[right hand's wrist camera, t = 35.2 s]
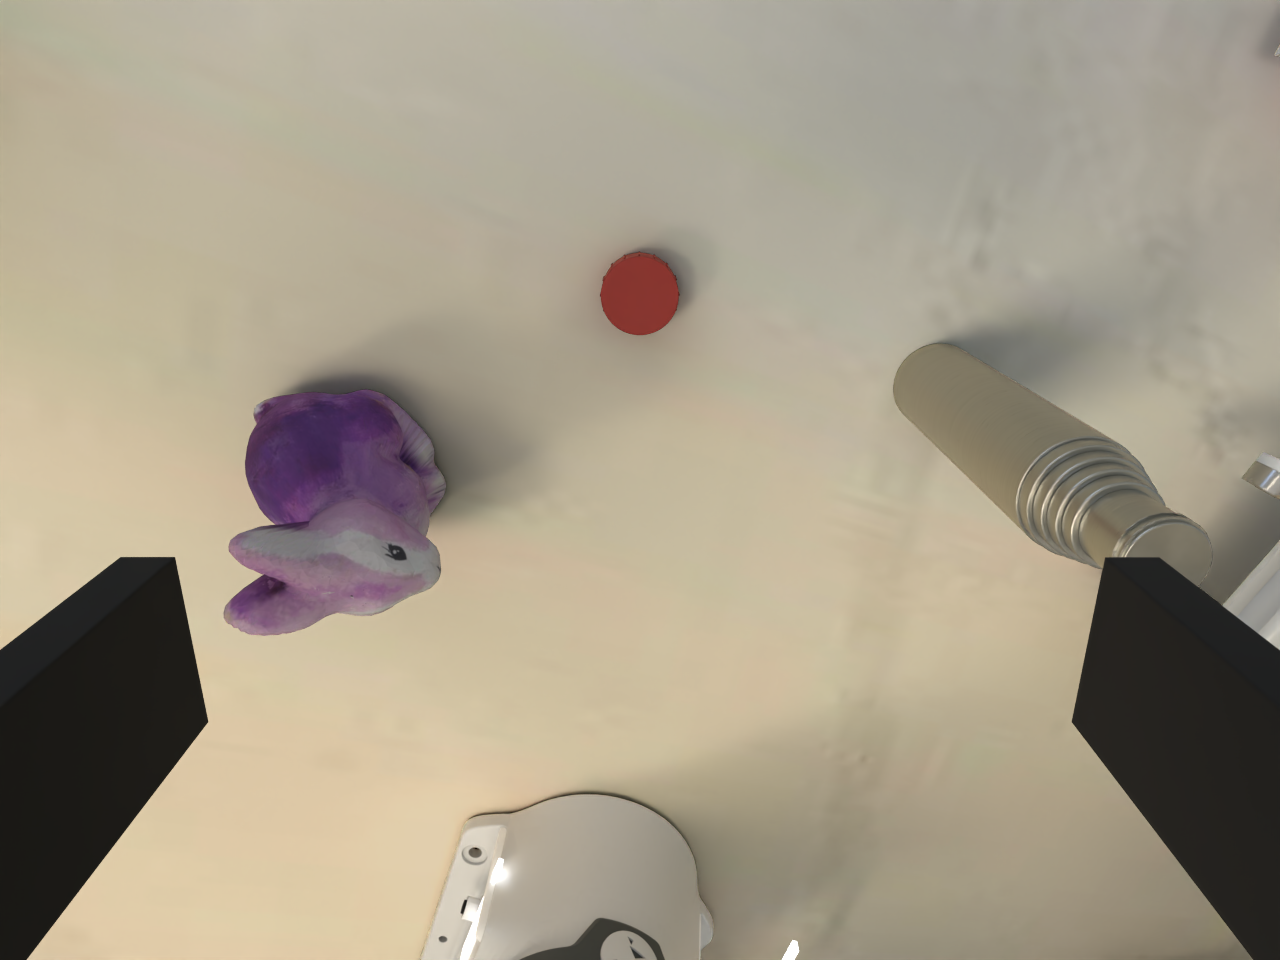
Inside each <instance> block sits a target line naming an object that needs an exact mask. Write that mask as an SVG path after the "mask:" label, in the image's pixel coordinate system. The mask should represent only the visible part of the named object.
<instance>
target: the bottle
mask: <svg viewBox="0 0 1280 960" xmlns="http://www.w3.org/2000/svg"><path fill="white" fill-rule="evenodd" d="M893 392H894V398H895V402H896V404H897V406H898V408H899V410H900V411H901V412H902V413H903V414H904V415H905V416H906V417H907V418H908V419H909V420H910V421H911V422H912V423H913V424H914V425H915V426H916V427H917V428H918V429H919V430H920V431H921V432H922V433H923V434H924V435H925V436H926V437H927V438H928V439H929V440H930V441H931V442H932V443H933V444H934V445H935V446H936V447H937V448H938V449H939V450H940V451H941V452H942V453H943V454H944V455H945V456H947V457H948V458H949V459H950V460H951V461H952V462H953V463H954V464H955V465H956V466H957V467H958V468H959V469H960V470H961V471H962V472H963V473H964V474H965V475H966V476H967V477H968V478H969V479H970V480H971V481H972V482H973V483H974V484H975V485H976V486H977V487H978V488H979V489H980V490H981V491H982V492H983V493H984V494H985V495H986V496H987V497H988V498H989V499H991V500H992V501H993V502H994V503H995V504H996V505H997V506H998V507H999V508H1000V509H1001V510H1002V511H1003V512H1004V513H1005V514H1006V515H1007V516H1008V517H1009V518H1010V519H1011V520H1012V521H1013V522H1014V523H1015V524H1016V525H1017V526H1018V527H1019V528H1020V529H1021V530H1022V531H1023V532H1024V533H1025V534H1026V535H1027V536H1028V537H1030V538H1031V539H1032V540H1033V541H1034V542H1036V543H1037V544H1039V545H1041V546H1043V547H1044V548H1046V549H1047V550H1049V551H1051V552H1053V553H1055V554H1057V555H1061V556H1064V557H1067V558H1069V559H1073V560H1076V561H1078V562H1081V563H1084V564H1088V565H1090V566H1092V567H1095V568H1099V569H1103V565H1104V560H1105V557H1160V558H1161V559H1162V560H1164V561H1165V562H1166V563H1167V564H1169V565H1170V566H1171V567H1173V568H1174V569H1175V570H1177V571H1178V572H1179V573H1180V574H1182V575H1183V576H1184V577H1186V578H1187V579H1188V580H1190V581H1191V582H1192V583H1193V584H1195V585H1196V586H1197V587H1198V586H1199V585H1200V584H1201V582H1202V581H1203V580H1204V579H1205V577H1206V575H1207V574H1208V571H1209V569H1210V566H1211V563H1212V547H1211V543H1210V541H1209V538H1208V536H1207V533H1206V532H1205V531H1204V530H1203V529H1202V527H1201V526H1200V525H1198V524H1197V523H1195V522H1193V521H1192V520H1191V519H1189V518H1187V517H1186V516H1184V515H1182V514H1179V513H1175V512H1173V511H1172V510H1170V509H1169V508H1167V507H1166V506H1165V503H1164V501H1163V499H1162V497H1161V496H1160V495H1159V494H1158V491H1157V489H1156V488H1155V486H1154V485H1153V483H1152V482H1151V480H1150V478H1149V476H1148V475H1147V474H1146V472H1145V470H1144V468H1143V466H1142V465H1141V464H1140V462H1139V461H1138V460H1137V459H1136V458H1135V457H1134V456H1133V455H1132V454H1131V453H1130V452H1129V451H1128V450H1127V449H1126V448H1125V447H1123V446H1122V445H1120V444H1119V443H1117V442H1116V441H1114V440H1112V439H1111V438H1109V437H1107V436H1106V435H1104V434H1102V433H1101V432H1099V431H1097V430H1096V429H1094V428H1092V427H1091V426H1089V425H1087V424H1086V423H1084V422H1082V421H1081V420H1079V419H1077V418H1076V417H1074V416H1072V415H1071V414H1069V413H1067V412H1065V411H1064V410H1062V409H1060V408H1059V407H1057V406H1055V405H1054V404H1052V403H1050V402H1049V401H1047V400H1045V399H1044V398H1042V397H1040V396H1039V395H1037V394H1035V393H1034V392H1032V391H1030V390H1029V389H1027V388H1025V387H1024V386H1022V385H1020V384H1019V383H1017V382H1015V381H1014V380H1012V379H1010V378H1009V377H1007V376H1005V375H1004V374H1002V373H1000V372H999V371H997V370H995V369H994V368H992V367H990V366H989V365H987V364H985V363H984V362H982V361H980V360H979V359H977V358H975V357H974V356H972V355H970V354H969V353H967V352H965V351H964V350H962V349H960V348H958V347H956V346H953V345H950V344H941V343H939V344H931V345H927V346H924V347H922V348H920V349H918V350H916V351H915V352H913V353H912V354H911V355H909V356H908V357H907V358H906V359H905V360H904V362H903V363H902V364H901V366H900V368H899V369H898V371H897V374H896V376H895V380H894V387H893Z"/></svg>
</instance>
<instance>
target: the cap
mask: <svg viewBox="0 0 1280 960" xmlns="http://www.w3.org/2000/svg"><path fill="white" fill-rule="evenodd" d="M676 280H677V279H676V276H675V275H674V274H673V272H672V271H671V269H670V268H669V266H668V263H665V262H664V261H662V260H661V259H660V258H658V257H656V256H655V255H651V254H647V253H640V252H639V253H632V254H629V255H624V257H622V258H620V259H618V260H617V261H616V262H615V263H614V264H613V263H612V264H611V267H610V269H609V270H608V272H607V273H606V276H604V277H603V285H602V289H601V294H600V296H601V302H602V307H603V311H604V312H605V314H606V316H607V318H608V319H609V320H610V322H611V323H612V324H613V325H614V326H616V327H617V328H618V329H620V330H622V331H624V332H626V333H629V334H634V335H646V334H650V333H653V332H656V331H658V330H660V329H661V328H663V327H664V326H665V325H666V324H667V323H668V322H669V321H670V320H671V318H672V317H673V315H674V313H675V311H676V310H677V305H678V299H679V295H680V294H679V291H678V286H677V283H676Z"/></svg>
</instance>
